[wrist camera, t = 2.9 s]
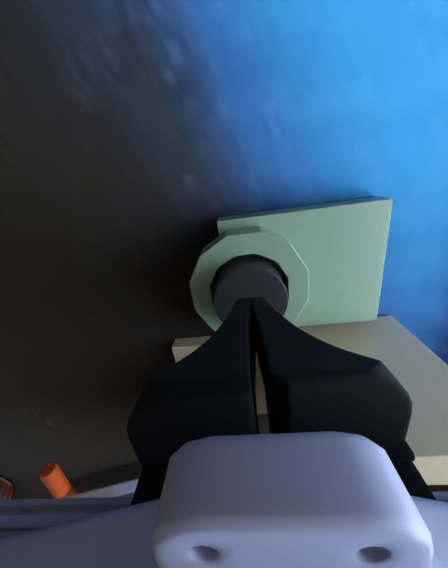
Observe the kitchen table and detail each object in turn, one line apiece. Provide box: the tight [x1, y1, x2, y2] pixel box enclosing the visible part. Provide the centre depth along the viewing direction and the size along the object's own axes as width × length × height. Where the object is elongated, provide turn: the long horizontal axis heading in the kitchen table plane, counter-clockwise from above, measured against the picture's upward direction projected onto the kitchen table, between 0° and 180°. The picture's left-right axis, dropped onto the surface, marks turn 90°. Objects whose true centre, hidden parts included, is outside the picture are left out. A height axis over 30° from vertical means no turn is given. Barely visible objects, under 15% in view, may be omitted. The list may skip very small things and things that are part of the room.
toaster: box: [265, 315, 448, 492], centre depth 16 cm, size 10×9×10 cm
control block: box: [190, 197, 393, 332], centre depth 15 cm, size 12×8×4 cm
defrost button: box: [213, 258, 288, 322], centre depth 14 cm, size 4×4×2 cm
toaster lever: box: [39, 462, 142, 498], centre depth 14 cm, size 11×5×2 cm, turn 97°
